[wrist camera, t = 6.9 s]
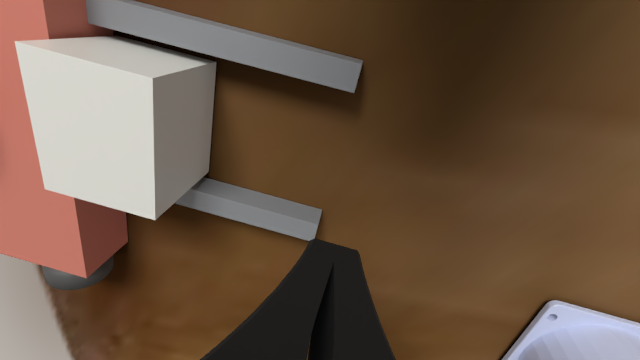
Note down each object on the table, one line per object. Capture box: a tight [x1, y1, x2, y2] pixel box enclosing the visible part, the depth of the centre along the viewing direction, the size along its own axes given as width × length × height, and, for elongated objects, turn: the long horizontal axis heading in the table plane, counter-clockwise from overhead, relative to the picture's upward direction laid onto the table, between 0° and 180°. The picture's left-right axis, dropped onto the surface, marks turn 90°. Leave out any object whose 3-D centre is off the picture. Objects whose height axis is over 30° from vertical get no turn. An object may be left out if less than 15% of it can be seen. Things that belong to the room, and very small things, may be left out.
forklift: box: [0, 0, 363, 290], centre depth 14 cm, size 23×24×6 cm
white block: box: [15, 36, 216, 220], centre depth 15 cm, size 6×8×5 cm
